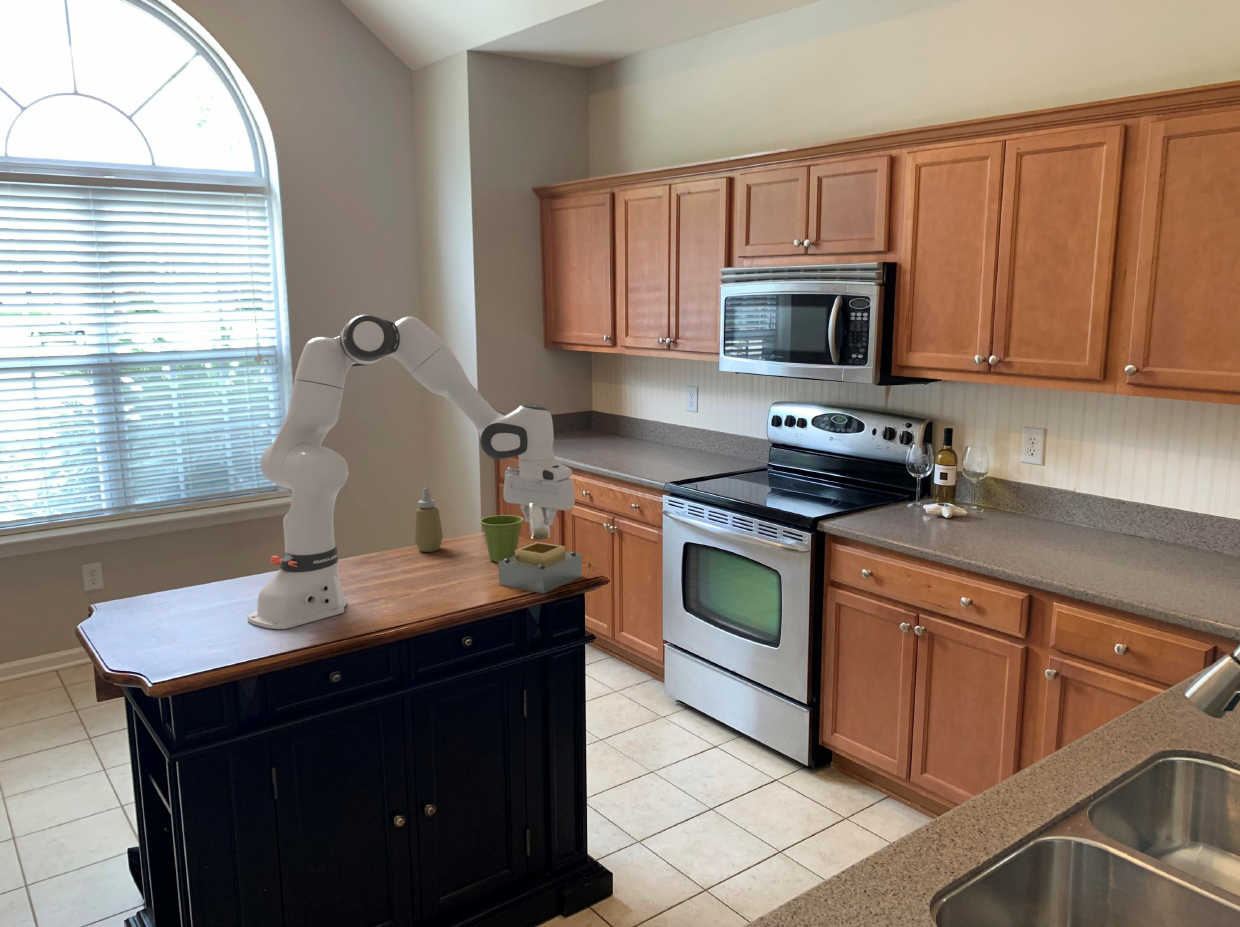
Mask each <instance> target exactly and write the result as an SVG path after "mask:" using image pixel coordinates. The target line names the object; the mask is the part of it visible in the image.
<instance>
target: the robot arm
mask: <svg viewBox="0 0 1240 927" xmlns="http://www.w3.org/2000/svg"><path fill="white" fill-rule="evenodd" d="M386 357H388V358H389V357H390V358H392V359H395V360H396V361H398V363H399V364H401V365H402V366H403V367H404V368H405V370H407V372H408V373H409V374H410V375H411V376H412V377H413V378H414V380H416V381H417V382H418V383H419V384H420V385H421V386H422V387H423V388H425V389H426V390H428V391H429V392H431V393H433V394H436V395H439V396H442V397H445V398H446V399H448V400H450V401H451V402H453V403H454V404H455V405H456V406H457V407H458V408H459V409H460V410H461V411H462V412H463V413H464V415H465V416H466V417H467V418H468V419H469V420H470V421H471V422H472V423H473V424H474V426H475V428H476V429H477V431H478V435H479V438H480V446H481V449H482V450H483V452H484V454H486V456H488V457H490V458H492V459H495V460H505V459H508V458H513V457H517V456H518V467H517V466H509V467H507V468H506V469H505V471H504V483H503V499H504V501H505V503H508V504H515V505H520V510H521V512H522V514H523V515H524V521H525V523H529V503H533V504H539V506H540V507H543V508H548V512H549V515H548V517H547V518H545V525H550V526H553V525H554V523H555V521H554V518H555V516H556V514H557V512H558V511H568V510H571V509H572V508H573V507H574V506H575V503H576V501H575V500H576V498H575V495H576V494H575V487H574V483H573V481H572V479H571V477H572V475H573V471H572V468H570V467H568V466H566V465H563V464H562V463H560V462H558V461H556V460H555V452H554V450H553V449H554V448H553V447H554V446H553V444H554V442H555V441H554V440H555V439H554V438H555V437H554V425H553V422H554V421H553V418H552V414H551V412H550V410H549V409H547V408H546V407H545V406H542V405H538V404H532V403H524V404H520V405H519V406H518V407H517V408H516V409H514V410H513V411H511V412H510V413H507V414H506V413H505V412H501V411H500V410H497V409H495V407H493V406H492V405H491V403H489V401H487V400H486V398H485V397H484V396H483V395H482V394H481V393H480V391H479V390H478V389H476V387H475V386H473V384H472V382H471V381H470V379H469V378H468V376H467V374H466V373H465V371H464V368H463V367H462V364H461V363H460V361H459V360H458V358H457V357H456V355H455V354H454V353H453V351H452V349H450V347H449V346H448V345H447V344H446V343H445V342H444V341H443V339H442V338H441V337H439V335H438V334H437V333H436V332H435V331H434V330H433V329H431V328H430V327H429V326H428V325H427V324H425V323H424V322H423V321H421V320H420V319H419V318H418V317H415V316H411V315H410V316H405V317H401V318H400V319H398V320H397V321H395V322H393V321H390V320H387V319H384V318H383V317H379V316H376V315H372V314H360V315H357V316H355V317H353V318H351V319H350V320H349V321H348V322H347V323H346V324H345V325H344V327H343V329H342V330H341V331H340V334H339V335H338V336H336V337H331V338H330V337H326V336H319V337H318V336H317V337H314V338H311V339H310V340H308V341H307V342H306V343H305V344H304V347H303V350H302V352H301V354H300V358H299V360H298V364H297V368H296V370H295V375H294V381H293V386H292V389H291V390H292V391H291V396H290V400H289V405H288V410H287V413H286V416H285V419H284V421H283V423H282V426H281V428H280V430H279V432H278V434H277V436H276V437H275V439H274V441H273V442H272V443H271V444H270V445H269V446H268V447H267V448H265V450H264V451H263V453H262V455H261V458H260V469H261V472H262V474H263V476H264V477H265V478H266V479H267V480H269V481H271V483H273V484H274V485H276V486H278V487H280V488H284V489H289V490H291V493H292V495H291V502H290V507H289V510H288V512H286V514H285V515H284V516H283V521H282V524H283V525H282V526H283V538H284V549H285V550H284V552H283V554H282V556H278V555H272V556H271V558H269V559H270V564H272V565H276V566H279V568H280V569H279V570H278V571H277V572H276V574H275V575H274V576H273V577H272V578H271V579H270V580H269V581H268V582H267V584H265V586H264V587H263V588H261V590H260V591H259V593H258V596H257V604H256V605H257V608H256V609H257V610H255V611H253V612H250V613H248V615H247V621H248V623H250V624H251V625H254V626H258V627H261V628H266V629H274V630H286V629H290V628H295V627H298V626H300V625H301V626H302V625H306V624H308V623H312V622H315V621H319V620H322V619H326V618H329V617H334V616H337V615H340V614H344V612H345V607H346V605H347V599H346V598H345V594H344V592H343V589H342V585H341V581H340V577H339V576H340V575H339V569H338V562H339V554H338V546H337V545H336V544H335V543H336V542H335V526H334V512H335V511H334V510H335V504H336V501H337V496H338V494H339V492H340V491H341V489H342V488H343V487H344V485H345V484H346V482H347V481H348V477H349V466H348V463H347V461H346V459H345V457H344V456H342V455H341V454H340V453H338V452H336V451H335V450H333V449H331V448H329V447H326V446H322V443H323V442H324V439H325V438H326V436H327V434H328V432H329V431H330V430H331V429H332V428H334V427H335V425H336V424H337V423H338V420H339V416H340V410H341V405H342V400H343V396H344V388H345V384H346V378H347V374H348V373H349V370H350V368H351V367H362V366H363V367H364V366H368V365H373V364H375V363H377V362H379V361H380V360H382V359H383V358H386Z"/></svg>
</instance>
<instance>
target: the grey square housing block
mask: <svg viewBox="0 0 1240 927" xmlns="http://www.w3.org/2000/svg"><path fill="white" fill-rule="evenodd" d="M582 559H583V558H582V553H577V551H566V546H565V545H561V544H560V545H559V544H553V543H546V542H541V541H535V542H533V543H529V544H528V545H525V546H522V547H519V548H517V549H516V550H515V556H512V557H510V558H505V559H504V560H502V561H499V563H498V580H499V582H498V583H499V586H504V587H508V588H514V589H519V590H523V591H529V592H535V593H539V594H547V593H548V592H550V591H553V590H555V589H558V588H560V587H562V586H564V585H566V584H568V583H570V582H574V581H575V580H577V579H579V578H580V579H581V578H582V577H583V566H582V565H583V564H582Z"/></svg>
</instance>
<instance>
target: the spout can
mask: <svg viewBox="0 0 1240 927" xmlns="http://www.w3.org/2000/svg"><path fill="white" fill-rule="evenodd" d="M549 513H550V512H548V508H543V507H540V506H539V504H533V503H529V522H528V523H529V538H530V539H531V540H538V541H539V540H546V539H550V537H551V535H550V533H551V530H550V526H551V525H545V518H547V517H548V515H549Z"/></svg>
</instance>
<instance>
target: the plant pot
mask: <svg viewBox="0 0 1240 927" xmlns="http://www.w3.org/2000/svg"><path fill="white" fill-rule="evenodd" d="M522 522H524V518H523V517H522V516H517V515H512V514H511V515H510V514H508V515H507V514H499V515H498V514H497V515H490V516H486V517H483V518H481V519H479V523H480V524H481V526H482V530H483V532H484V536H485V537H484V538H485V542H486V547H487V552H488V553H487V554H488V557H489V560H490V562H494V563H498V564H499V561H502V560H504V559H505V558H510V557H512V556H515V550H516V549H518V545H519V538H520V531H521V527H522Z"/></svg>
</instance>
